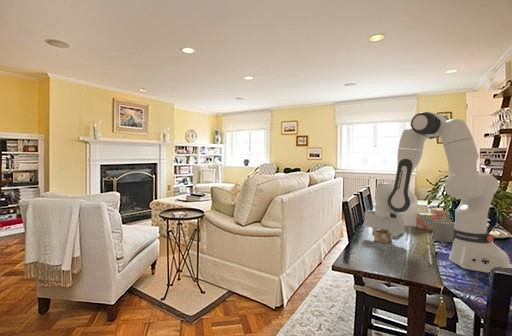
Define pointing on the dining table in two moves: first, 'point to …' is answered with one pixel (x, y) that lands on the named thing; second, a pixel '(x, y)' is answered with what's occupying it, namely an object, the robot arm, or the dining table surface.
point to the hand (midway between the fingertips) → (383, 237)
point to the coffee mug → (443, 230)
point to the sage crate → (393, 234)
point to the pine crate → (382, 236)
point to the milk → (411, 213)
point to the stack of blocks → (431, 218)
